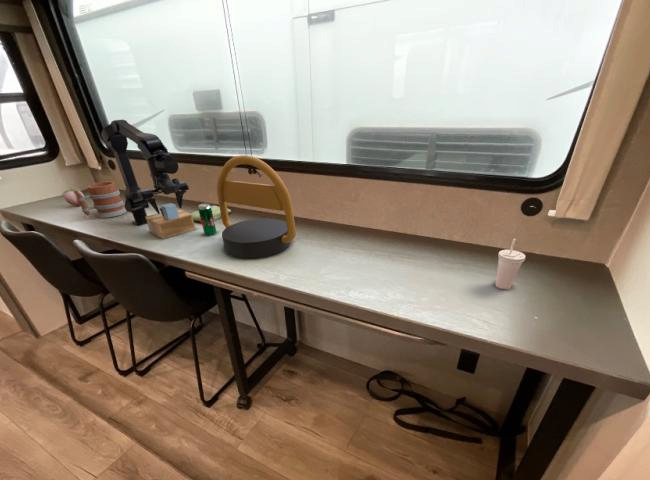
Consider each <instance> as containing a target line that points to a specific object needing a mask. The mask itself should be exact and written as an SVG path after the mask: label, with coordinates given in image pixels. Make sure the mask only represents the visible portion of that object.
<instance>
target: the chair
mask: <svg viewBox="0 0 650 480" xmlns="http://www.w3.org/2000/svg"><path fill="white" fill-rule="evenodd" d="M239 165H249V166H252V167H255V168H256V169H259V170H260V171H261V172H262V173H263V174H265V175H266V176H267V177H268V178H269V179H270V181H271V182H272V183H273V184H266V183H258V182H248V181H239V180H229V179H228V177H229V174H230V173H231V171H232V170H233V168H234V169H235V167H237V166H239ZM216 194H217V201H218V207H220V212H221V217H220V219H221V221H222V224H223V226H224V227H225V228H224V229H223V230H222V231H221V238H222V242H223V247H224V251H225V253H226V254H227V255H228V256H230V257H232V258H234V259H242V260H257V259H258V260H259V259H264V258H268V257H269V258H270V257H272V256H275V255H278V254H280V253H282V252H285V251H286V250H287V249H288V248H289V247H290V245H291V243H292V242H293V241H294V239H295V238H296V236H297V232H296V230H297V229H296V223H295V216H294V210H293V203H292V199H291V198H292V197H291V196H290V193H289V190H288V188H287V186H286V184H285V183H284V181H283V180H282V178H281V177H280V175H279V174H278V173H277V172H276V171H275V170H274V169H273V168H272V167H271V166H270V165H269V164H267V163H266V162H265V161H263V160H261V159H259V158H257V157H255V156H252V155H237V156H234V157H232V158H230V159H228V160H227V161H226V162H225V164H224V165H223V166H222V169H221V170H220V173H219V175H218V178H217V183H216ZM227 203H228V204H234V205H239V206H240V205H241V206H247V207H254V208H260V209H266V210H272V211H279V212H282V211H283V212H284V216H285V221H284V220H280V219H276V218H254V219H253V218H252V219H248V220H242V221H239V222H235V223H232V222H231V220H230V218H229V213H228V211H227V209H228V206H227Z"/></svg>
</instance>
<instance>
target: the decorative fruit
mask: <svg viewBox="0 0 650 480" xmlns="http://www.w3.org/2000/svg"><path fill="white" fill-rule="evenodd" d="M76 190H77V191H78V192H79V193H80V194H81V195H82V196H83V197H85V195H84V193H83V190H82V189H79V188H74V189H72V188H71V187H70V188H69V190H65V191H63V192H62V194H61V195H63V197H64V200H65V201H66V203H67V204H69V205H71V206H76V207H81V205H80V203H79V201H78V200H77V196H76V194H75V193H74V191H76Z"/></svg>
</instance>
